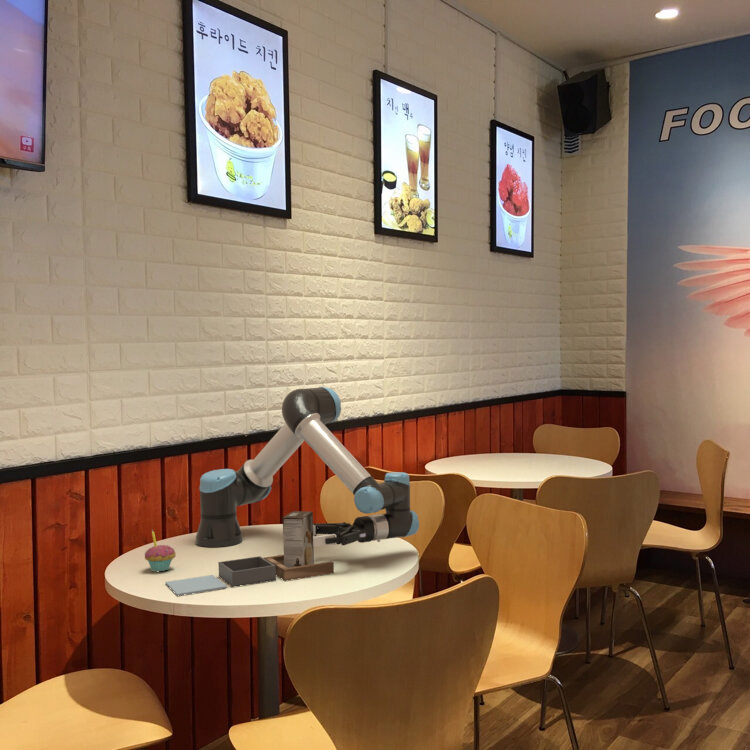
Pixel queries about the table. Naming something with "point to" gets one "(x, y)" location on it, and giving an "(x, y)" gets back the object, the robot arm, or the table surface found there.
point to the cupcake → (159, 556)
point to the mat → (195, 585)
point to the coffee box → (298, 539)
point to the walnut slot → (299, 568)
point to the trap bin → (247, 571)
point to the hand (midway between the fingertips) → (303, 537)
